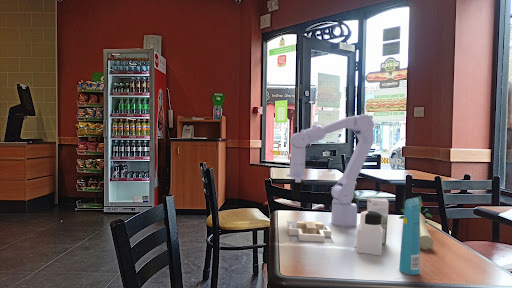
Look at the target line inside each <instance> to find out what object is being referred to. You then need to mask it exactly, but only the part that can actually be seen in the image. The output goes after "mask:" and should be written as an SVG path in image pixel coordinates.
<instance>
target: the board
mask: <svg viewBox="0 0 512 288" xmlns="http://www.w3.org/2000/svg"><path fill="white" fill-rule="evenodd" d="M286 223H287V227H288V226H289V224H292V228H295V229H296V221H286ZM325 226H326V225H325V224H324V223H323V230H325ZM303 234H304V233H303ZM318 235H319V234H318ZM288 237H289V241H292V242H293V241H294V242H301V241H300V240H299V237H298V235H289V234H288ZM306 242H307V243H309V242H311V243H318V242H317V241H306ZM323 243H324V244H325V243H326V244H335V242H334V240H333V238H332V236H331V237H325V242H323ZM300 244H303V243H300ZM317 245H320V244H317Z"/></svg>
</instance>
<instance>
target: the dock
mask: <svg viewBox="0 0 512 288" xmlns="http://www.w3.org/2000/svg"><path fill="white" fill-rule="evenodd" d="M324 226H325V230H319V235H318V234H303V233H302V230H301V229H295V228H292V224H289V226H288V225H287V230H288V236H289V235H298V237H299V240H300V241H299V242H307V241H317V242H316V243H324V242H325V237H331V238H332V230H331V228H330V226H328V225H324Z"/></svg>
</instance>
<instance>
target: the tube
mask: <svg viewBox="0 0 512 288" xmlns="http://www.w3.org/2000/svg"><path fill="white" fill-rule="evenodd" d="M418 198H419V196H417V197H414V198H408V199H406V200H405V201H406V205H405V206H404V210H405V212H403V216H404V219H402V220H403V222H402V229H401V230H402V231H401V243H400V244H401V245H400V255H399V256H400V257H399V264H398V268H399V271H400V272H401V273H402V272H403V273H402V274H405V275H410V276H411V275H412V276H414V275H416V276H417V275H420V268H421V267H420V265H421V263H420V262H421V260H420V257H421V248H420V212H421V210H420V208H419V199H418Z"/></svg>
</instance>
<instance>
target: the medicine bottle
mask: <svg viewBox="0 0 512 288" xmlns="http://www.w3.org/2000/svg"><path fill="white" fill-rule="evenodd" d="M359 220H360V221H359V222H360V223H359V224H358V225H357V226H358V227H357V232H356V233H357V234H356V250H355V252H356V253H358V254H366V255H373V256H374V255H375V256H380V257H381V256H382V251H383V244H382V236H383V228H382V227H381V214H380V213H378V212H374V211H367V210H364V211H361V212H360V219H359Z"/></svg>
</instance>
